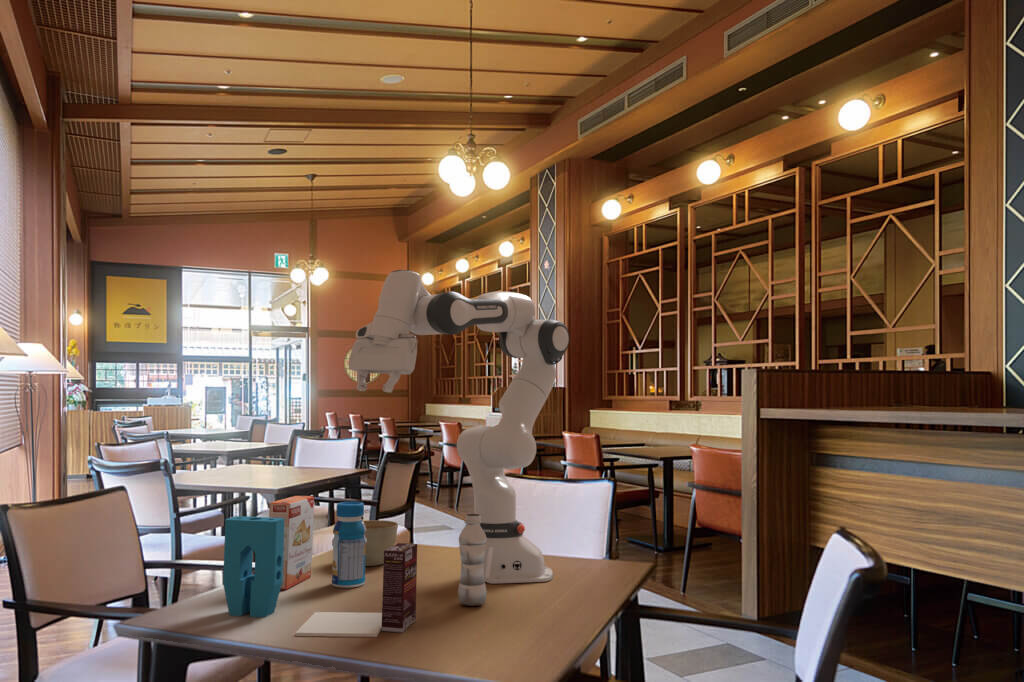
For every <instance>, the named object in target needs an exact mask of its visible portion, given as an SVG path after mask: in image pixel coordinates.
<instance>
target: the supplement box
mask: <svg viewBox="0 0 1024 682" xmlns="http://www.w3.org/2000/svg"><path fill="white" fill-rule="evenodd" d="M417 568H418V543H406V542H404V543H403V542H398V543H396V544H394V546H392V547H391V548H389V549H387V550H384V564H383V570H382V571H383V573H382V574H383V575H382V576H383V577H382V603H381V607H382V608H381V609H382V610H381V613H382V627H381V631H382V632H386V633H387V632H388V633H401V634H402V633H404V632H405V630H407V628H408V627H410V626H411V625H412V624H413V623H414V622H416V617H417V616H416V615H417V613H416V612H417V579H418V578H417V577H418V576H417V571H418V569H417ZM381 631H380V632H381Z"/></svg>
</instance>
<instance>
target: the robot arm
mask: <svg viewBox="0 0 1024 682" xmlns="http://www.w3.org/2000/svg"><path fill="white" fill-rule="evenodd" d="M421 277H422V276H421V274H420V273H418V272H416V271H414V270H409V269H395V270H392V271H390V272H389V273H388V275H387V276H386V278H385V280H384V283H383V285H382V288H381V291H380V295H379V298H378V308H377V309H376V312H375V314H374V315H373V319H372V321H370V322H369V323H367V324H366V325H365V326H362V327H360V328H358V329H357V330H356V332H355V338H356V340H355V341H354V343H353V345H352V347H351V350H350V355H349V357H348V358H349V359H348V364H347V365H348V368H349V369H348V370H351V371H353V372H356V380H357V384H356V390H357V391H360V392H366V391H367V387H368V385H369V384H368V383H367V382H366V378H368V375H369V374H386V375H388V376H389V378H388V380H387V381H386V382H384V383H383V385H382V386H383V387H382V391H383V393H384V392H385V393H390V394H391V393H393V390H394V386H395V385H396V384H397V383H398V381H399V380H400V378H401V375H411V374H412V373H413V372H414V370H415V367H416V363H417V362H416V361H417V356H418V343H419V342H418V341H419V340H418V337H417V336H428V335H433V336H434V335H458V334H460V333H462V332H464V331H465V330H467V329H468V328H470V327H471V326H476V327H477V328H478V329H479V330H480V331H482V332H489V333H498V344H499V348H500V349H501V352H502V353H503V355H506V356H507V357H510V358H512V359H513V358H514V359H522V363H521V367H520V368H519V370H518V372H517V373H516V374H515V376H514V378H513V379H512V380H511V382H510V383H509V385H508V386H507V389H506V390H505V391H504V393H503V395H502V396H501V398H500V399H499V402H498V409H499V412H500V414H501V418H500V421H499V422H498V423H497V425H495V426H491V425H476V426H473V427H469V428H466V429H464V430H462V432H460V434H459V435H458V438H457V441H456V451H457V455H458V457H459V458H460V459H461V461H463V462H464V465H465V466H466V468H467V471H468V474H469V476H470V477H469V478H470V481H471V485H472V488H473V490H472V491H473V514H480V515H481V523H480V526H481V528H482V529H483V531H484V532H485V534H486V538H487V540H486V549H485V557H484V576H485V582H486V583H488V584H514V583H515V584H516V583H517V584H518V583H540V582H541V583H542V582H549V581H550V580H552V579H553V577H554V574H553V573H554V572H553V570H552V568H550V567H549V566H546V564H545V563H546V562H545V559H544V555H543V552H542V551H541V549H540V548H539V547H538V546H537V545H536V544H534V543H533V542H532V541H531V540H529V539H528V538H527V537H526V536H524V535H523V534H524V532H525V530H526V528H525V525H524V524H523V523H522V522H521V521H519V520H517V519H516V516H517V514H516V512H517V511H516V510H517V507H516V505H517V504H516V501H517V498H516V497H517V493H516V491H515V489H514V487H513V485H512V484H511V483H510V482H509V481H508V479H507V477H506V473H505V471H504V470H517V469H522V468H526V467H528V466H530V465H531V464H532V462H533V461H534V460H535V457H536V454H537V442H536V440H535V439H536V438H535V437H534V436H533V429H534V424H535V422H536V420H537V417H538V416H539V414H540V412H541V411H542V408H543V407H544V405H545V403H546V401H547V399H548V398H549V397H550V393H552V392H551V391H552V389H553V387H554V384H555V381H556V377H557V369H556V366H555V365H556V364H558V363H560V362H561V361H562V359H563V357H564V355H565V354H566V352H567V350H568V347H569V345H570V337H571V336H570V332H569V329H568V327H567V325H566V324H564V323H563V322H562V321H559V320H556V319H551V318H550V319H536V317H535V316H536V306H535V303H534V302H533V300H532V298H530V296H528V295H526V294H523V293H519V292H513V291H503V290H502V291H501V290H500V291H490V292H485V293H482V294H479V295H478V296H477V297H476V298H475V299H474V298H472V299H471V298H468V297H466V296H464V295H462V294H461V293H459V292H457V291H456V292H455V291H446V292H442V293H441V292H440V293H437V294H430V292H429V291H428V290H427V289H426V286H424V284H423V282H422V278H421ZM416 335H417V336H416Z"/></svg>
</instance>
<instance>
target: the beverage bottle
mask: <svg viewBox="0 0 1024 682" xmlns="http://www.w3.org/2000/svg"><path fill="white" fill-rule="evenodd" d="M364 504H365V503H364V502H361V501H343V502H338V503H337V504H336V510H335V511H336V512H335V513H336V518H338V519H337V521H336V523H335V525H334V526H333V529H332V533H333V538H332V541H331V542H332V543H331V545H332V575H331V577H332V578H331V585H332V586H333V587H335V588H340V589H353V588H358V587H362V586H363V585H364V584H365V583H366V566H365V553H366V544H367V539H366V537H365V533H366V526H365V524H364V522H363V521H364V520H363V519H362V518H363V517H364V515H365V514H364V513H365V505H364Z"/></svg>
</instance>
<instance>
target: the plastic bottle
mask: <svg viewBox="0 0 1024 682" xmlns="http://www.w3.org/2000/svg"><path fill="white" fill-rule="evenodd" d="M480 523H481V515H480V514H474V513H466V514H465V516H464V524H465V526H464V527H463V528H462V530H461V532H459V533H460V534H459V536H458V543H459V544H458V546H459V553H460V578H459V584H458V588H457V589H458V591H457V594H458V597H457V598H458V601H459V602H460V603H461V604H462V605H464V606H469V607H473V606H481V605H483V604H484V603H485V601H486V599H487V593H488V592H487V585H486V583H485V576H484V557H485V549H486V540H487V538H486V534H485V532H484V531H483V529H482V528H481V526H480Z"/></svg>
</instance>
